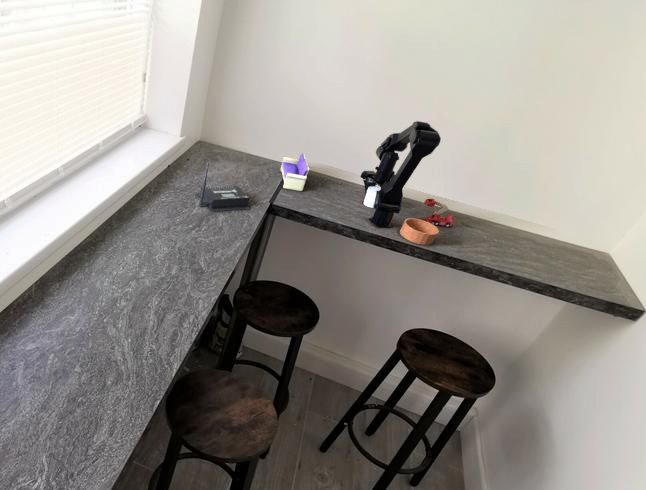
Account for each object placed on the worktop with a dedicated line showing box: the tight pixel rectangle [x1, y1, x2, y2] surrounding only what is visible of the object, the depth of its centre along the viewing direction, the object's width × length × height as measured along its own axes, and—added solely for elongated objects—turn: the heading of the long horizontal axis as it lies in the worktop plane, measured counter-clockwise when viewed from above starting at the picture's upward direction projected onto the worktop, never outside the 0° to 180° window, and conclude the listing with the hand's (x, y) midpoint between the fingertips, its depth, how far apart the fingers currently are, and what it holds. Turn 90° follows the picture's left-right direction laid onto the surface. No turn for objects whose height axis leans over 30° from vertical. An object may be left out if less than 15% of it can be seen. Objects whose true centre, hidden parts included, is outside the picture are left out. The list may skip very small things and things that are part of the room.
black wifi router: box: [198, 162, 251, 212], centre depth 185 cm, size 20×14×17 cm
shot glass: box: [363, 186, 381, 209], centre depth 204 cm, size 7×7×7 cm
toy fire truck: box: [424, 198, 455, 228], centre depth 197 cm, size 3×14×10 cm, turn 84°
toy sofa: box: [279, 153, 310, 192], centre depth 213 cm, size 21×9×10 cm, turn 172°
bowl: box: [399, 217, 440, 246], centre depth 187 cm, size 12×12×4 cm
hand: (371, 202), depth 206 cm, fingers closed on shot glass, 6 cm apart
